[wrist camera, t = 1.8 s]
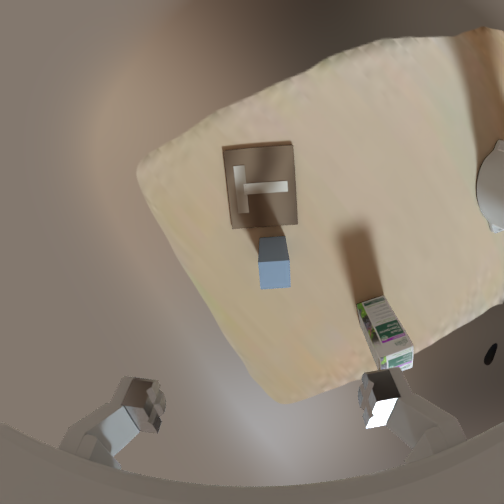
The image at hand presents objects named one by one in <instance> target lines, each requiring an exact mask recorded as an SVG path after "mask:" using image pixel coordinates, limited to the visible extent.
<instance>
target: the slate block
mask: <svg viewBox="0 0 504 504" xmlns="http://www.w3.org/2000/svg"><path fill="white" fill-rule="evenodd" d="M258 265H259V276H260V287H261V289H273V288H288V287H290V261H289V255H288V249H287V244H286V238H285V236H279V237H264V238H260V241H259V258H258Z"/></svg>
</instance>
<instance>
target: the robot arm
mask: <svg viewBox="0 0 504 504" xmlns="http://www.w3.org/2000/svg"><path fill="white" fill-rule="evenodd" d="M477 199H478V204H479V207H480V210H481V212H482V214H483V215H484V216H485V218H486V219H487V220H488V222H489V226H490V229H491V231H492V232H494V233H498V232H501V231H503V230H504V141H503V140H498V141H497V143H496V145H495V148H494V150H493V151H492V152H491V153H490V154H489V155H488V156H487V157H486V159H485V160H484V162H483V164H482V166H481V168H480V171H479V175H478V180H477ZM362 382H363V384H362V385H361V386H360V387H359V391H358V400H359V405H360V408H362V409H363V410H364V413H363V418H364V422H365V426H366V428H371V427H376V426H381V425H385V426H386V427H388V428H389V429H390V430H391V431H392V432H393V433H394V434H395V435H397V436H398V437H399V438H400V439H401V440H402V441H403V442H404V443H406V444H407V445H408V446H409V447H410V448H411V449H413V450H412V451H411V453H410V454H409V455H408V457H407V458H406V460H405V461H404V462H405V465H402V466H398V467H395V468H391V469H387V470H383V471H379V472H376V473H371V474H367V475H362V476H357V477H352V478H346V479H340V480H334V481H328V482H320V483H311V484H303V485H289V486H270V487H269V486H266V487H241V486H240V487H239V486H219V485H206V484H196V483H188V482H187V483H186V482H180V481H173V480H167V479H161V478H156V477H150V476H146V475H141V474H136V473H132V472H128V471H124V470H120V469H121V465H120V463H119V462H118V461H117V460H116V459H115V458H114V457H113V456H115V455H116V454H117V453H118V452H119V451H120V450H121V449H122V448H123V447H124V446H125V445H126V444H127V443H129V442H130V441H131V440H132V439H133V438H134V437H135V436H136V435H137V434H138V433H139V431H143V432H150V433H158V431H159V428H160V425H161V422H162V421H161V419H160V416H161V415H162V414H164V412H165V408H166V399H165V396H164V393H163V392H162V391H160V390H159V388H160V384H159V382H158V381H157V380H151V379H143V378H136V377H128V376H124V377H123V378H122V379H121V381H120V383H119V385H118V387H117V389H116V391H115V393H114V395H113V397H112V399H111V401H110V403H106V404H104V405H103V406H101V407H100V408H98V409H96V410H95V411H93V412H92V413H91V414H89V415H87V416H86V417H85V418H83V419H81V420H80V421H78V422H76V423H75V424H73V425H72V426H70V427H69V428H68V430H67V432H66V434H65V436H64V438H63V440H62V442H61V444H60V446H59V448H55V447H53V446H51V445H48V444H46V443H44V442H42V441H40V440H38V439H35V438H33V437H31V436H29V435H27V434H25V433H23V432H21V431H20V430H18V429H16V428H14V427H12V426H10V425H8V424H6V423H0V504H504V422H502V423H500V424H499V425H497V426H495V427H493V428H491V429H489V430H488V431H486V432H484V433H482V434H480V435H478V436H476V437H474V438H472V439H469V440H467V439H466V436H465V434H464V432H463V430H462V428H461V426H460V424H459V422H458V420H457V418H456V417H454V416H452V415H450V414H449V413H447V412H446V411H444V410H442V409H441V408H439V407H437V406H436V405H434V404H432V403H431V402H429V401H427V400H426V399H424V398H423V397H421V396H419V395H417V394H413V393H412V391H411V389H410V387H409V385H408V382H407V380H406V378H405V377H404V374H403V372H402V370H401V368H400V367H393V368H388V369H382V370H377V371H371V372H365V373H364V374H363V376H362Z"/></svg>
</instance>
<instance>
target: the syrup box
mask: <svg viewBox="0 0 504 504" xmlns="http://www.w3.org/2000/svg"><path fill="white" fill-rule="evenodd" d="M357 310H358V315H359V321H360V326H361V329H362V331H363V333H364V336H365V338H366V341H367V343H368V346H369V348H370V351H371V353H372V356H373V358H374V361H375V363H376V366H377V368H378V370H382V369H388V368H393V367H400V368H401V370H402V371H404V370H407V369H409V368H412V365H413V343H412V341H411V340H410V338H409V336H408V334H407V333H406V331H405V329H404V328H403V326H402V325H401V323H400V321H399V320H398V318H397V316H396V315H395V313H394V311H393V310H392V308H391V306H390V305H389V303H388V301H387V299H386V298H385V296H384V295H382V296H380V297H377V298H374V299H371V300H368V301H365V302H362V303H359V304H357Z"/></svg>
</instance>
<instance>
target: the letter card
mask: <svg viewBox="0 0 504 504" xmlns="http://www.w3.org/2000/svg"><path fill="white" fill-rule="evenodd" d="M224 160H225V169H226V178H227V187H228V196H229V204H230V212H231V221H232V229H239V228H252V227H266V226H280V225H295V224H298V219H297V199H296V181H295V166H294V152H293V145H285V146H270V147H257V148H246V149H236V150H226V151H224Z"/></svg>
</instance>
